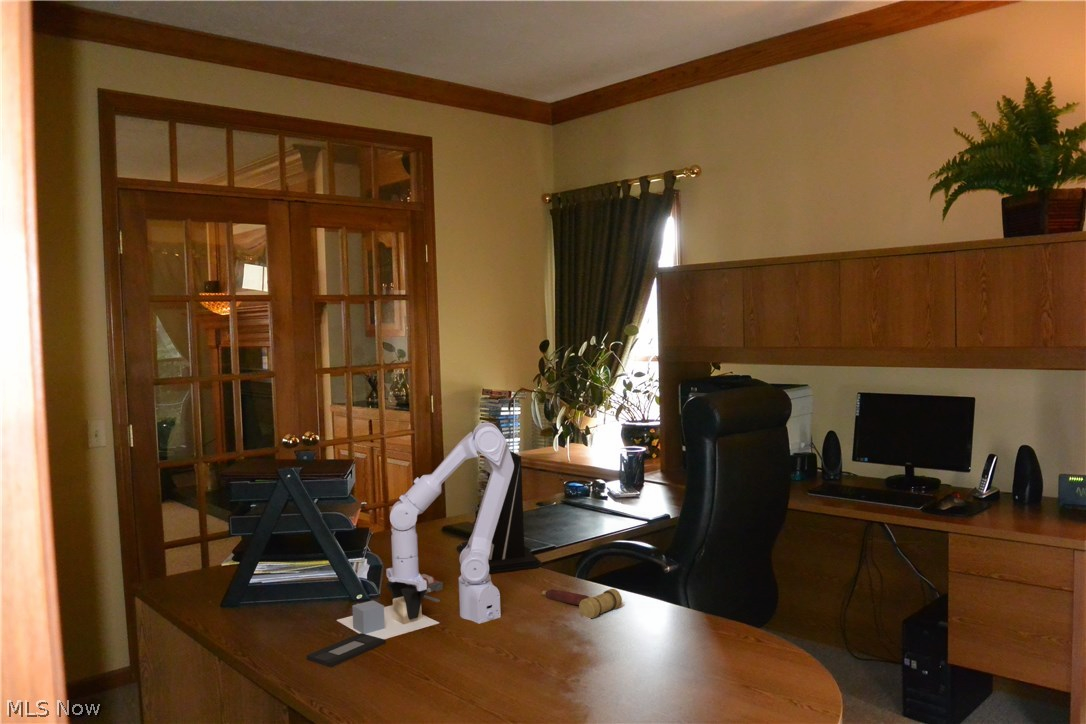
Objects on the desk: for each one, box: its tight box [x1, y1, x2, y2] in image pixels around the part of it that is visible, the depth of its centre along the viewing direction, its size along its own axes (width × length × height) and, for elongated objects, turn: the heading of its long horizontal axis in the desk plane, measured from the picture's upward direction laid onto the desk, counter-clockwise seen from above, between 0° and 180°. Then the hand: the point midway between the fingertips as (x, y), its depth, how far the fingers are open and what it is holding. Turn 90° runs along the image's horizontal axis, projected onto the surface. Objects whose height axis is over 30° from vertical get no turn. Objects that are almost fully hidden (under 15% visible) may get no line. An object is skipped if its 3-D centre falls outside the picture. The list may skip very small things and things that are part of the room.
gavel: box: [541, 588, 623, 619], centre depth 195 cm, size 21×5×10 cm
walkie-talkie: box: [420, 573, 444, 603], centre depth 207 cm, size 9×4×20 cm
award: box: [456, 450, 543, 575], centre depth 237 cm, size 30×19×30 cm, turn 17°
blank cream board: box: [336, 604, 440, 640], centre depth 185 cm, size 18×16×1 cm
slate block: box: [351, 600, 385, 634], centre depth 181 cm, size 5×5×5 cm
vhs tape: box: [306, 633, 387, 668], centre depth 169 cm, size 8×14×2 cm, turn 144°
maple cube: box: [392, 596, 423, 624], centre depth 186 cm, size 5×5×5 cm
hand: (407, 615), depth 186 cm, fingers closed on maple cube, 5 cm apart
